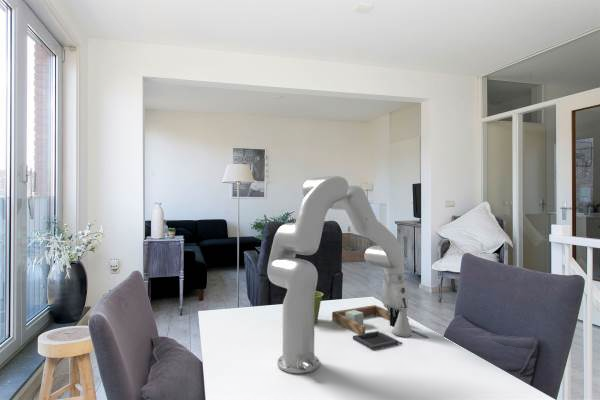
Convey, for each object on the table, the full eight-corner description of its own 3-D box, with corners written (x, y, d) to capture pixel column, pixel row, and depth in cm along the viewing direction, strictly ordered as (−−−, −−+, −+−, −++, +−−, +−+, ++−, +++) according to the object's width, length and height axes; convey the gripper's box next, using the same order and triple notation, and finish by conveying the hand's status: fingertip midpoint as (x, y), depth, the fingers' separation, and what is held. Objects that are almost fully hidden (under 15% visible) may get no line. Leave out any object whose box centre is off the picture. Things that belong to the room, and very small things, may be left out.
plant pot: (324, 326, 147) (324, 297, 147) (293, 326, 147) (293, 297, 147) (322, 316, 158) (322, 290, 158) (294, 316, 159) (294, 290, 159)
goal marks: (428, 337, 135) (428, 336, 135) (399, 344, 129) (399, 342, 129) (406, 328, 144) (406, 327, 144) (379, 333, 138) (379, 332, 138)
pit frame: (398, 344, 128) (398, 340, 128) (372, 350, 123) (372, 346, 123) (377, 334, 138) (377, 330, 138) (352, 339, 133) (352, 335, 133)
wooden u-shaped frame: (408, 327, 145) (408, 318, 145) (362, 336, 135) (362, 327, 135) (375, 313, 164) (375, 305, 164) (332, 320, 154) (332, 311, 154)
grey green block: (363, 325, 148) (363, 312, 148) (354, 328, 145) (354, 315, 145) (354, 322, 152) (354, 309, 152) (345, 324, 149) (345, 312, 149)
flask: (406, 339, 133) (407, 311, 133) (388, 333, 138) (389, 306, 138) (415, 333, 138) (416, 307, 138) (397, 327, 143) (399, 302, 143)
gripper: (415, 280, 137) (416, 330, 137) (388, 272, 150) (388, 318, 150) (400, 282, 133) (400, 333, 134) (373, 275, 147) (374, 321, 147)
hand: (394, 325), depth 142 cm, fingers closed
